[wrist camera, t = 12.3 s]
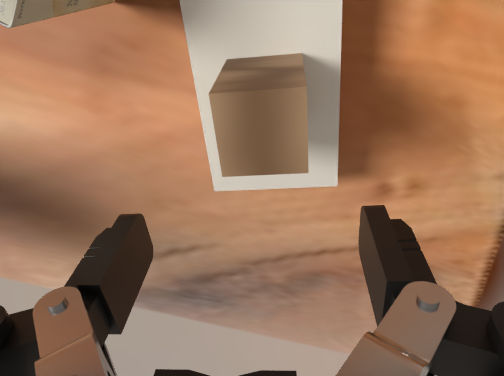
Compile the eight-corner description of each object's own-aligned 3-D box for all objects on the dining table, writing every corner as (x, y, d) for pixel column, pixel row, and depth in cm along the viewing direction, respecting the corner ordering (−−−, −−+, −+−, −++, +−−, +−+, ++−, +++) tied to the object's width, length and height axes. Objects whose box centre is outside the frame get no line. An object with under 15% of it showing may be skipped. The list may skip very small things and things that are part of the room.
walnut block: (235, 128, 28) (222, 177, 22) (226, 59, 25) (208, 93, 19) (303, 124, 27) (308, 173, 21) (302, 53, 24) (306, 86, 19)
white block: (221, 167, 34) (214, 191, 31) (188, -35, 26) (173, -32, 22) (332, 161, 33) (337, 186, 30) (336, -52, 25) (343, -51, 21)
